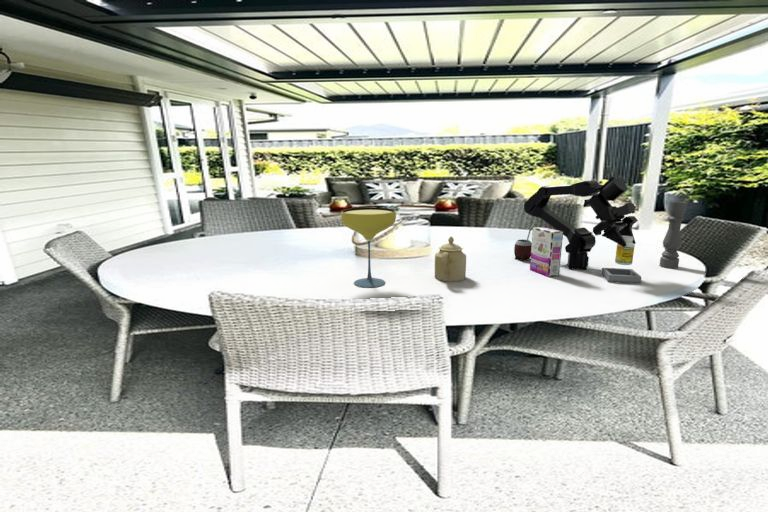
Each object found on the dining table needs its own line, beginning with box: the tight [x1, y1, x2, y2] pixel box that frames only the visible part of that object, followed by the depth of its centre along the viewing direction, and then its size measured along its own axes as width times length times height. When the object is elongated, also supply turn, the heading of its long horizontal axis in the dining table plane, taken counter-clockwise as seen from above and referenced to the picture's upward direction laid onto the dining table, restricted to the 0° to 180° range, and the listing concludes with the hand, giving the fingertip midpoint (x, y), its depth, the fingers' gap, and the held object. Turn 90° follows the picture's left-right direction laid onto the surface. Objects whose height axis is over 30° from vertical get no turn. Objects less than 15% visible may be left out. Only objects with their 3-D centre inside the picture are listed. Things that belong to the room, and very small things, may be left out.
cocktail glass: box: [340, 206, 397, 289], centre depth 149 cm, size 18×18×25 cm
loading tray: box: [600, 267, 642, 285], centre depth 155 cm, size 10×10×2 cm
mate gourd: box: [513, 222, 536, 262], centre depth 182 cm, size 8×8×15 cm
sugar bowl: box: [434, 235, 467, 283], centre depth 154 cm, size 15×11×15 cm
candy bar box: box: [529, 226, 564, 278], centre depth 161 cm, size 11×5×16 cm, turn 19°
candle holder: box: [659, 200, 688, 270], centre depth 168 cm, size 6×6×25 cm
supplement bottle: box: [614, 236, 636, 266], centre depth 153 cm, size 5×5×10 cm
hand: (629, 245), depth 151 cm, fingers closed on supplement bottle, 5 cm apart
